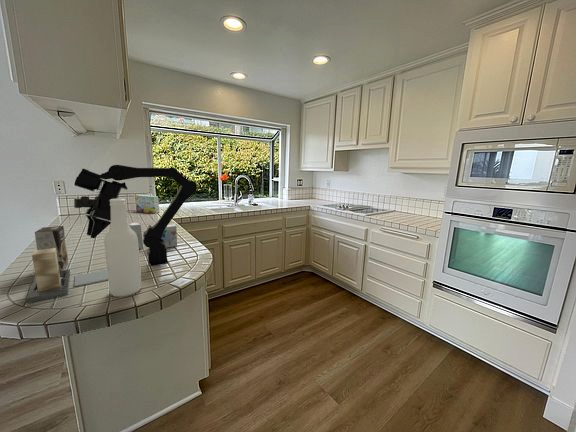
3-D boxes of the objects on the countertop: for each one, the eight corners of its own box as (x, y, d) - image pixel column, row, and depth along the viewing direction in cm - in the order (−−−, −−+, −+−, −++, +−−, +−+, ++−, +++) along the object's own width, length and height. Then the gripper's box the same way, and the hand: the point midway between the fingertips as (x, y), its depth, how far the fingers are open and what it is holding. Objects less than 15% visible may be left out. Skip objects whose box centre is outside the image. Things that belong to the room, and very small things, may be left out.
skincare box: (143, 248, 124) (141, 224, 122) (133, 250, 121) (131, 225, 119) (139, 245, 128) (137, 222, 126) (129, 247, 125) (127, 223, 123)
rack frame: (70, 273, 93) (69, 269, 93) (68, 294, 78) (67, 289, 78) (36, 279, 88) (35, 275, 87) (26, 303, 72) (26, 298, 72)
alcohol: (142, 293, 80) (134, 200, 74) (108, 300, 75) (97, 201, 70) (142, 282, 87) (134, 197, 82) (111, 288, 83) (101, 198, 77)
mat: (109, 270, 97) (108, 269, 97) (111, 279, 89) (111, 278, 89) (75, 276, 90) (75, 275, 90) (74, 287, 83) (74, 285, 83)
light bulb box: (155, 249, 122) (153, 228, 120) (152, 246, 127) (150, 225, 125) (178, 245, 129) (176, 225, 127) (174, 242, 134) (173, 223, 132)
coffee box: (63, 271, 94) (57, 230, 91) (40, 274, 91) (33, 232, 88) (69, 263, 102) (64, 225, 99) (48, 266, 99) (42, 226, 96)
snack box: (136, 211, 222) (134, 194, 219) (141, 211, 227) (140, 194, 224) (154, 213, 215) (153, 196, 212) (159, 212, 220) (158, 195, 218)
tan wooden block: (61, 284, 84) (55, 247, 82) (60, 290, 80) (54, 252, 78) (40, 289, 81) (34, 250, 79) (38, 295, 77) (31, 255, 75)
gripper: (78, 188, 94) (60, 227, 91) (85, 186, 81) (63, 232, 78) (112, 199, 102) (96, 236, 98) (123, 199, 88) (105, 242, 85)
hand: (90, 236), depth 90 cm, fingers open, 9 cm apart
